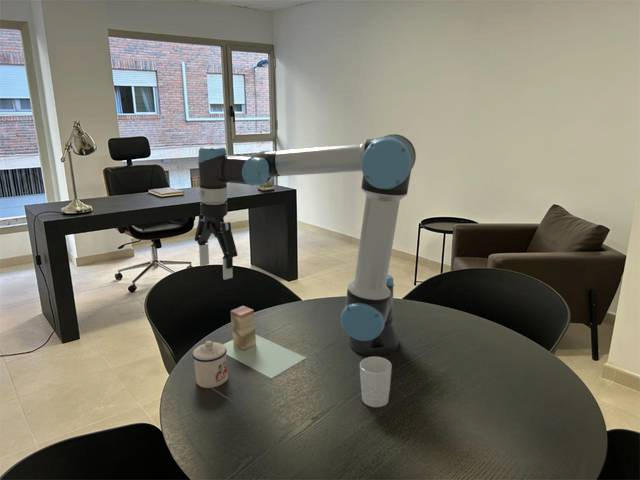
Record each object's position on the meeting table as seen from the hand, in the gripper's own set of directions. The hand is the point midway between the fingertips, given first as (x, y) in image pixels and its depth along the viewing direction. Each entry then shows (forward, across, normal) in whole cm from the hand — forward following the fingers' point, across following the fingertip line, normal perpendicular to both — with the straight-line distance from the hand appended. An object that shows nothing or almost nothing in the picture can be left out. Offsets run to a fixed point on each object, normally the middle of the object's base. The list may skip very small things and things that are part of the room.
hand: (215, 271), depth 138 cm
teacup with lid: (+25, +14, -10) cm, 30 cm away
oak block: (+24, +6, +6) cm, 26 cm away
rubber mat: (+24, +13, +7) cm, 28 cm away
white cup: (+22, +52, +15) cm, 59 cm away
